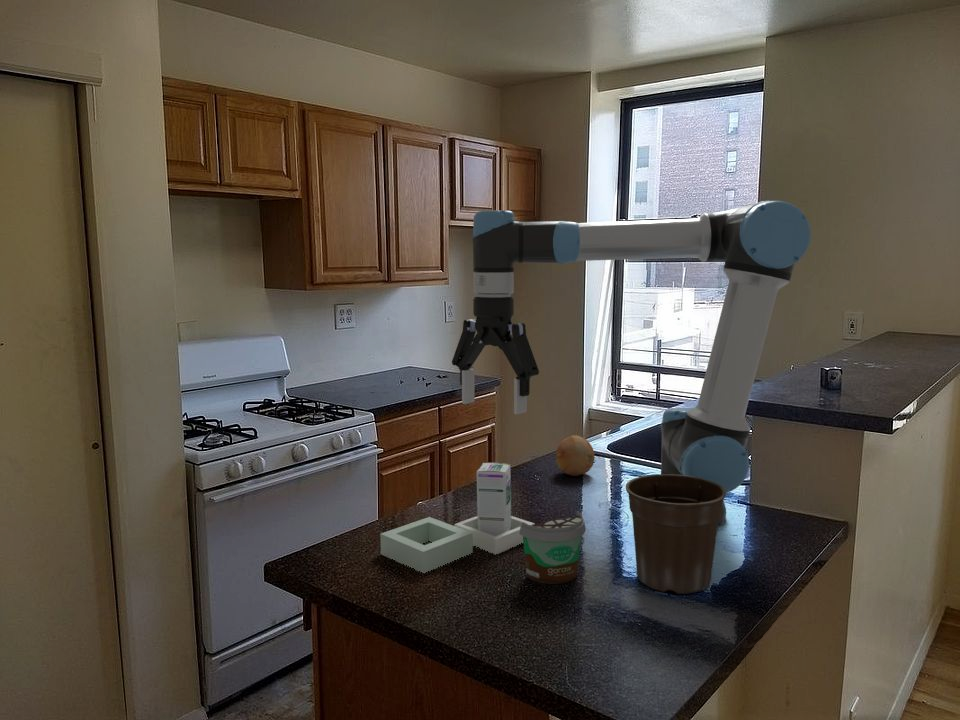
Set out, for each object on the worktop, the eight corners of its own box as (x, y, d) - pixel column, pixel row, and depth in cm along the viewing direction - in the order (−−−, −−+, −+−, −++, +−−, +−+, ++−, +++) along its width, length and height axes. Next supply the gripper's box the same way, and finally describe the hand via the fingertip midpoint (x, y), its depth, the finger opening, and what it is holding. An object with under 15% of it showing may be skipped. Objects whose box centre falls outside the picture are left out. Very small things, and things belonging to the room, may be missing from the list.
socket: (472, 553, 135) (472, 532, 135) (423, 573, 127) (423, 551, 126) (429, 536, 144) (429, 516, 143) (380, 554, 135) (380, 533, 135)
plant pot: (603, 574, 126) (605, 484, 124) (665, 551, 136) (668, 467, 133) (679, 611, 113) (682, 510, 111) (742, 583, 123) (746, 490, 120)
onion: (584, 483, 176) (585, 442, 175) (548, 476, 182) (548, 437, 180) (601, 473, 184) (601, 434, 183) (565, 467, 190) (566, 429, 188)
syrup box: (507, 545, 139) (507, 471, 137) (476, 543, 140) (476, 470, 138) (511, 534, 145) (511, 463, 142) (482, 532, 146) (482, 461, 144)
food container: (538, 593, 119) (538, 534, 118) (519, 578, 125) (519, 522, 123) (599, 577, 125) (600, 521, 124) (578, 564, 130) (579, 510, 129)
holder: (534, 538, 142) (534, 523, 142) (495, 554, 135) (495, 539, 134) (493, 524, 150) (493, 510, 150) (454, 538, 142) (454, 524, 142)
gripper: (433, 293, 142) (434, 401, 145) (531, 299, 124) (530, 421, 127) (461, 292, 147) (461, 396, 150) (559, 297, 130) (557, 414, 133)
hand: (493, 407), depth 139 cm, fingers open, 13 cm apart
